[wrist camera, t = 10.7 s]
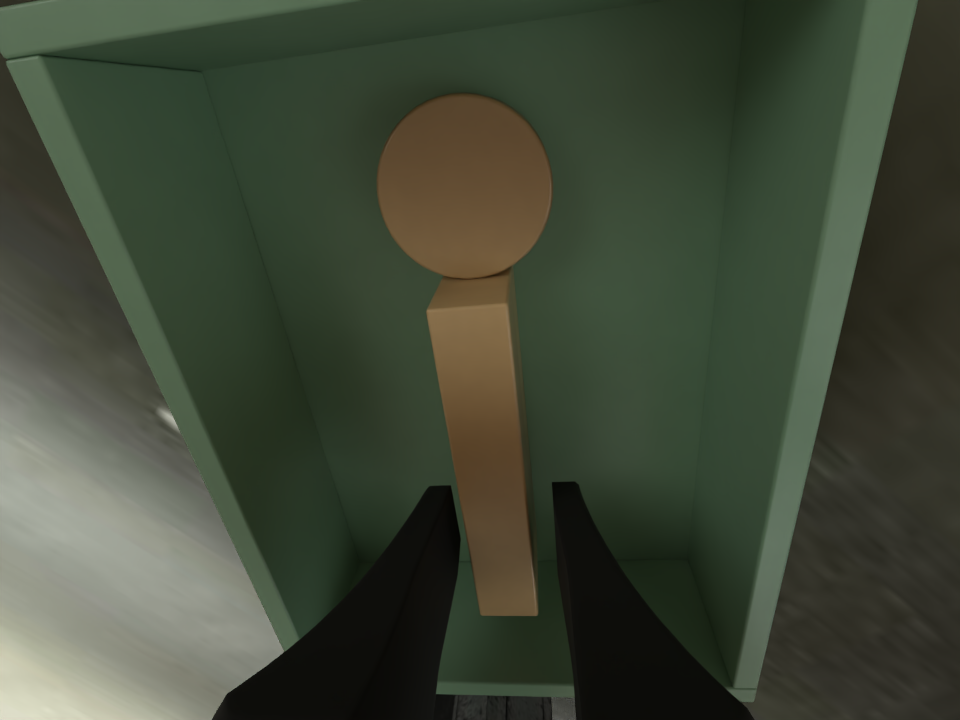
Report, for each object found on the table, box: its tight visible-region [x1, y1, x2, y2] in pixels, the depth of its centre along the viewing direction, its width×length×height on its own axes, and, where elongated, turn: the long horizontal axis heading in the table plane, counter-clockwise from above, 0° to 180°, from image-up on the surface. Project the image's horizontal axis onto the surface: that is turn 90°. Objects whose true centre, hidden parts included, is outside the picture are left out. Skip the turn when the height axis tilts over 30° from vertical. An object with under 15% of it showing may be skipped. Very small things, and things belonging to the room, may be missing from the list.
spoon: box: [376, 92, 553, 616], centre depth 12 cm, size 13×4×3 cm, turn 7°
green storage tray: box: [0, 0, 918, 702], centre depth 12 cm, size 16×12×4 cm
